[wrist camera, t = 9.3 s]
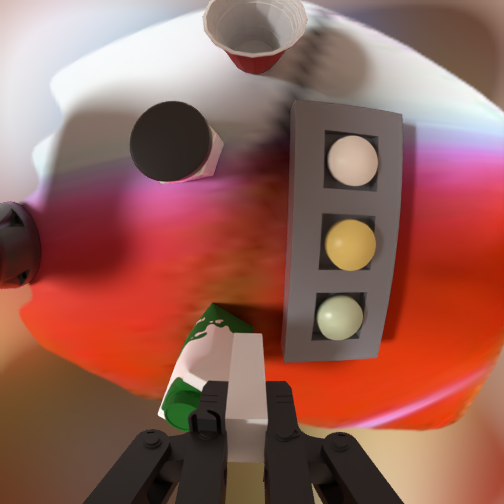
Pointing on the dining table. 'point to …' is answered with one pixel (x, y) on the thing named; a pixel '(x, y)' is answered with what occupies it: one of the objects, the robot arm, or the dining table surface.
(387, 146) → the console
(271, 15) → the plastic cup
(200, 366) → the milk carton
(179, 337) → the dining table surface
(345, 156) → the cream button
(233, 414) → the robot arm
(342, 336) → the sage button
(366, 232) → the mustard button
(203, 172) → the jar
